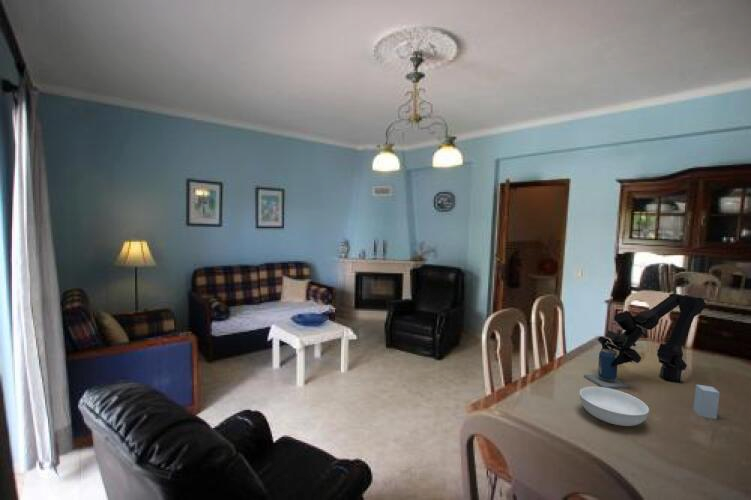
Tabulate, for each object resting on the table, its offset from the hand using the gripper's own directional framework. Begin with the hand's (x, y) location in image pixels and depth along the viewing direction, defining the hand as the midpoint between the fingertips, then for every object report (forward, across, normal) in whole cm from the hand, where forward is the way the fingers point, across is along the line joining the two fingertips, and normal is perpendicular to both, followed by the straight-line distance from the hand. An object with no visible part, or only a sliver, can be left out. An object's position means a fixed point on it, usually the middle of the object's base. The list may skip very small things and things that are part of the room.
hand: (605, 362), depth 163 cm
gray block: (-6, +29, +19) cm, 35 cm away
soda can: (+4, 0, +6) cm, 7 cm away
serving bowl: (+20, +27, -8) cm, 34 cm away
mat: (+6, 0, +7) cm, 9 cm away
